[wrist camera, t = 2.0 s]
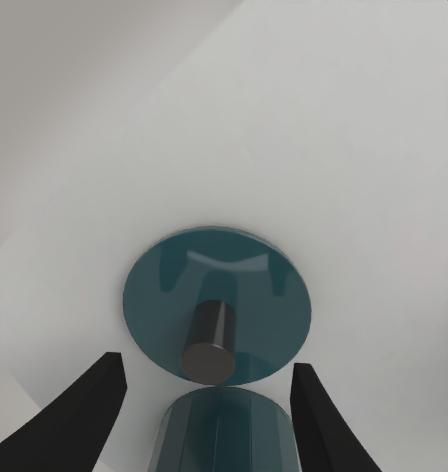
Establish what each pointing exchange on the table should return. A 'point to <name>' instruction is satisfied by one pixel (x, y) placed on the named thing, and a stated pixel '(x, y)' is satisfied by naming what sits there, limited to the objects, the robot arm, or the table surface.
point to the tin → (225, 434)
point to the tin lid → (217, 306)
